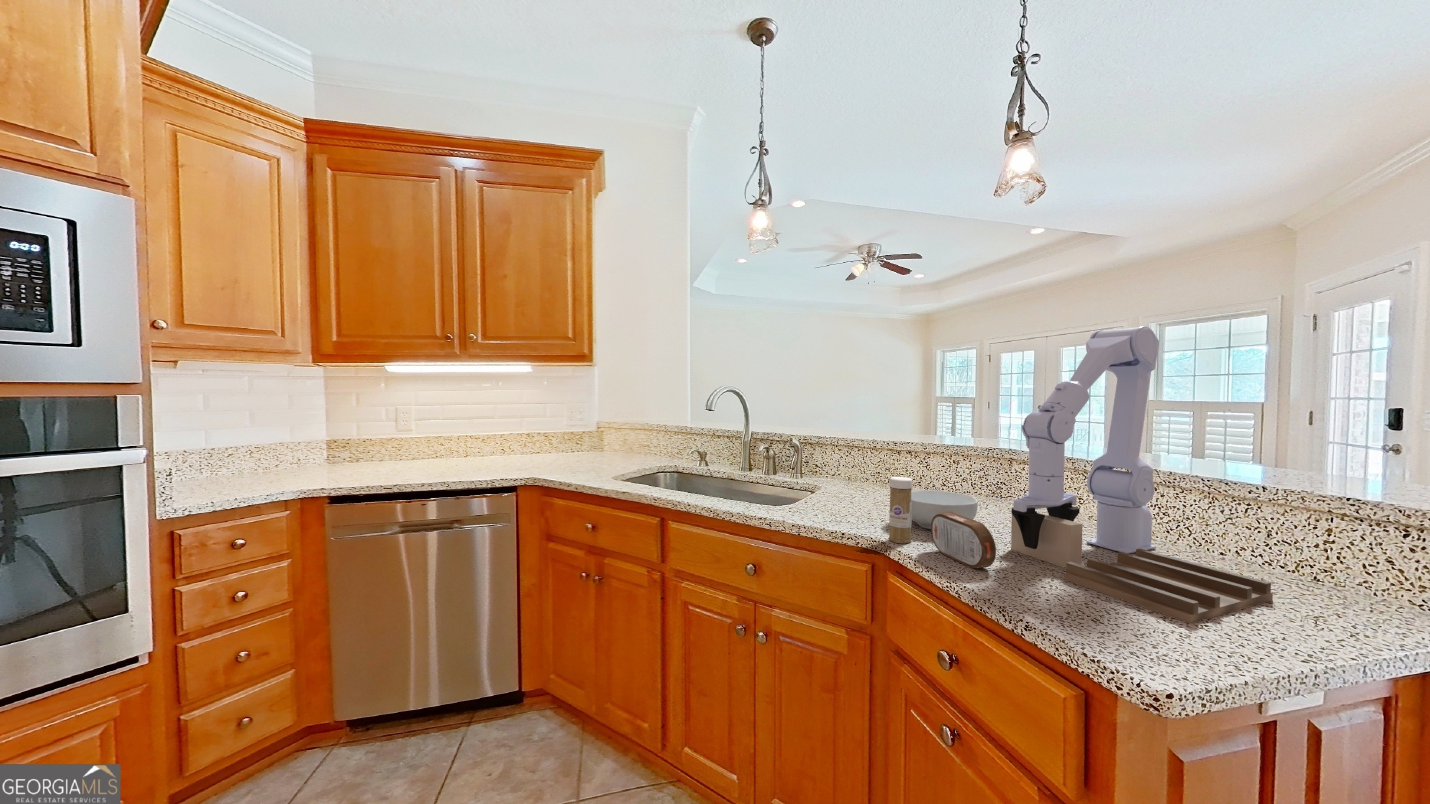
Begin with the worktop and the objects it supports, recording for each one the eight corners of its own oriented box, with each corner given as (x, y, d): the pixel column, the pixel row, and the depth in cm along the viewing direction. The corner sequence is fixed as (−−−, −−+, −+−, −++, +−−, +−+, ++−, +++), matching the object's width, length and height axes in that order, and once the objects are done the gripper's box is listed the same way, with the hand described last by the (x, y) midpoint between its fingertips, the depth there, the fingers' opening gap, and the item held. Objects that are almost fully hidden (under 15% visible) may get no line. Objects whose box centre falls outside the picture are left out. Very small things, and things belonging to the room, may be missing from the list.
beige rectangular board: (1021, 548, 108) (1022, 509, 108) (1081, 567, 97) (1082, 523, 96) (1011, 549, 107) (1011, 510, 106) (1070, 569, 96) (1071, 525, 95)
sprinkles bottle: (888, 542, 111) (888, 479, 111) (889, 536, 116) (890, 475, 115) (911, 545, 110) (912, 480, 109) (912, 539, 114) (912, 476, 113)
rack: (1141, 563, 98) (1142, 548, 98) (1272, 600, 82) (1273, 582, 81) (1063, 579, 91) (1063, 563, 90) (1190, 623, 74) (1190, 603, 74)
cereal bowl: (994, 534, 117) (994, 502, 117) (924, 538, 115) (924, 506, 114) (948, 515, 134) (949, 487, 134) (886, 518, 131) (887, 490, 131)
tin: (997, 573, 94) (998, 526, 93) (982, 575, 93) (982, 527, 92) (941, 548, 108) (941, 506, 108) (927, 549, 107) (928, 507, 107)
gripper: (1052, 468, 107) (1051, 535, 108) (999, 473, 102) (998, 543, 103) (1088, 474, 101) (1086, 545, 101) (1033, 479, 96) (1032, 554, 96)
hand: (1044, 545), depth 102 cm, fingers open, 7 cm apart
